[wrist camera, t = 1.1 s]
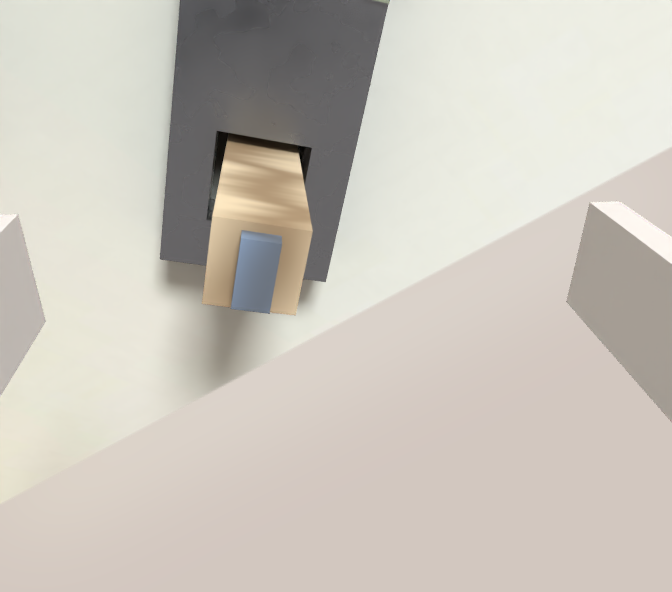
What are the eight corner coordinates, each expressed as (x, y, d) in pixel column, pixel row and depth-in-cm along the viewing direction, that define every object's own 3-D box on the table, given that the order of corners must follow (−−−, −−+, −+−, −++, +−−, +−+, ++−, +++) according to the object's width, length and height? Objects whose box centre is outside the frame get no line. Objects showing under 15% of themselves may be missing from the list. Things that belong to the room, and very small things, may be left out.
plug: (221, 191, 38) (200, 313, 25) (229, 127, 36) (210, 223, 23) (285, 201, 38) (296, 325, 25) (296, 139, 36) (314, 239, 24)
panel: (168, 235, 39) (159, 260, 35) (208, -244, 27) (200, -271, 24) (320, 257, 40) (325, 283, 37) (416, -183, 29) (434, -200, 26)
